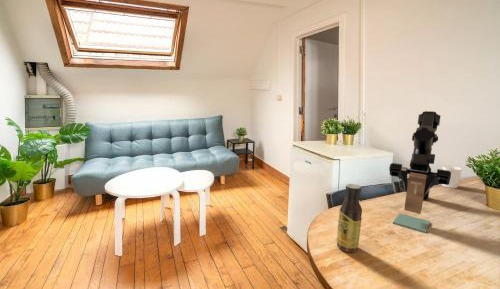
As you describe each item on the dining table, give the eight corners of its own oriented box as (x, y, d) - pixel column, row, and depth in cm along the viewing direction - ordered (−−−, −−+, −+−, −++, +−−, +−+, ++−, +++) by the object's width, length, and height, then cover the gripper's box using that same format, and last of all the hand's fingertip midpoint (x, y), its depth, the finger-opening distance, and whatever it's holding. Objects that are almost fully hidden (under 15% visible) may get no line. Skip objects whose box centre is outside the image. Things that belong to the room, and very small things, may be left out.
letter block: (405, 205, 98) (410, 172, 96) (421, 209, 95) (426, 174, 93) (404, 210, 94) (408, 175, 92) (420, 214, 91) (425, 178, 89)
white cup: (456, 185, 139) (459, 166, 138) (460, 189, 132) (463, 170, 131) (438, 182, 143) (441, 165, 141) (442, 187, 136) (444, 168, 134)
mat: (392, 223, 95) (392, 221, 95) (399, 214, 103) (399, 213, 103) (425, 232, 89) (425, 231, 89) (429, 222, 96) (430, 221, 96)
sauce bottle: (333, 242, 82) (337, 181, 79) (352, 241, 83) (357, 181, 79) (342, 254, 76) (347, 189, 72) (362, 253, 76) (368, 188, 73)
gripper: (392, 142, 99) (384, 176, 93) (454, 147, 88) (450, 187, 82) (393, 158, 107) (386, 191, 100) (451, 165, 96) (446, 203, 89)
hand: (414, 193), depth 93 cm, fingers closed on letter block, 5 cm apart
